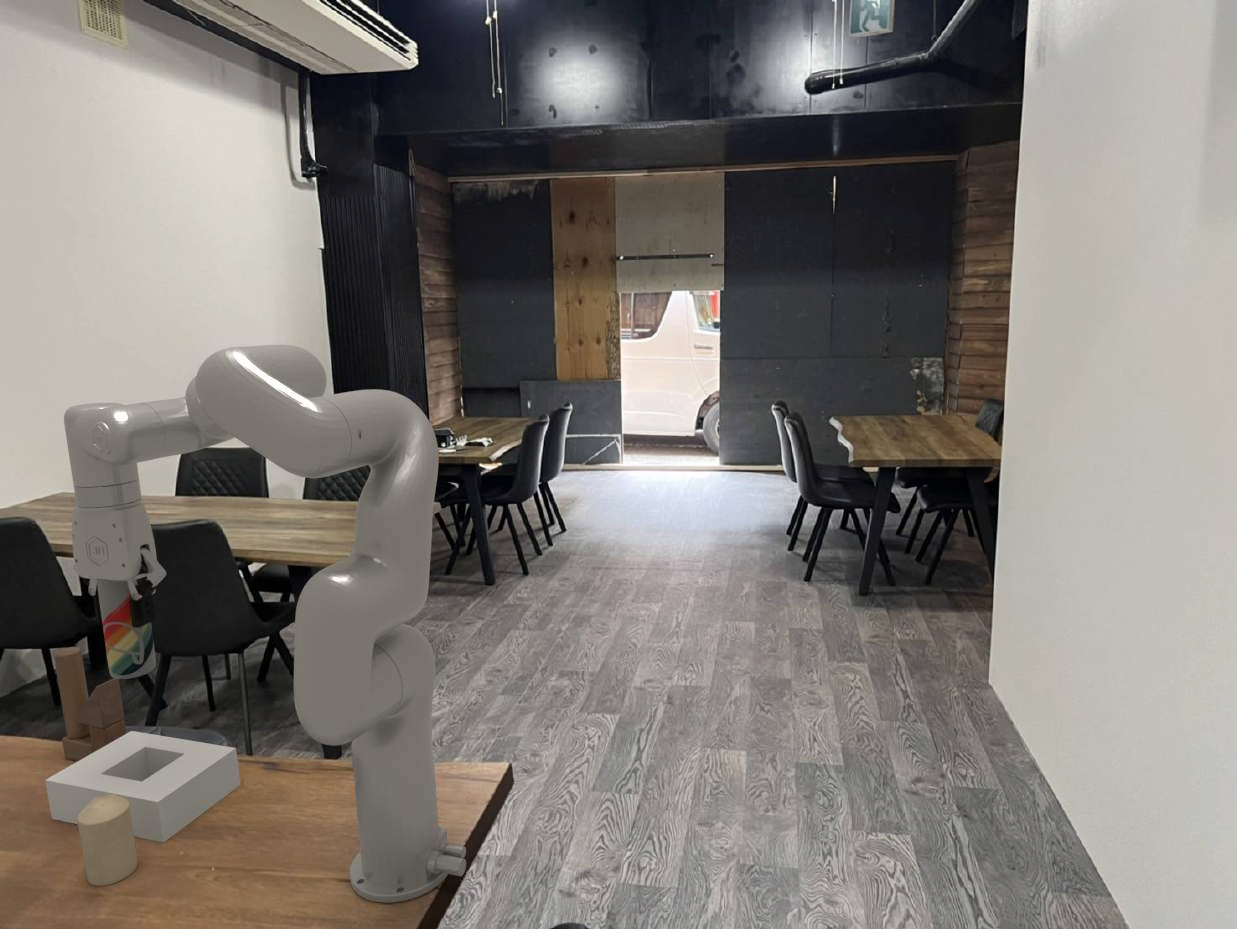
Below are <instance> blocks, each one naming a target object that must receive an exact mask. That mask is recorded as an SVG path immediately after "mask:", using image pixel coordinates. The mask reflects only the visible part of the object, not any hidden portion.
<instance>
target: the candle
mask: <svg viewBox="0 0 1237 929" xmlns="http://www.w3.org/2000/svg"><path fill="white" fill-rule="evenodd" d="M77 820H78V824H77V826H78V832H79V836H80V842H81V850H82V855H83V856H82V857H83V861H84V868H85V869H84V870H85V875H86V879H87V882H88V883H89V884H90V885H91V886H94V887H103V886H104V887H105V886H109V885H113V884H115V883H118V882H121V881H122V880H124V879H126V878H127V877H129V876H130V875H131V874H133V873H134V872H135V871H136V869H137V867H138V861H139V860H138V853H137V846H136V845H137V844H136V840H135V837H134V832H133V825H132V819H131V812H130V805H129V802H128V801H127V800H126V799H123V798H121V797H119V796H116V795H114V794H108V795H106V796H103V797H100V796H98V797H95V798H93V800H92V801H91V802H90V803H89V804H88V805H87V806H86V807H85V808H84V809H83V810H82V812H81V813H80V814H79V816H78V818H77Z"/></svg>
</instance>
